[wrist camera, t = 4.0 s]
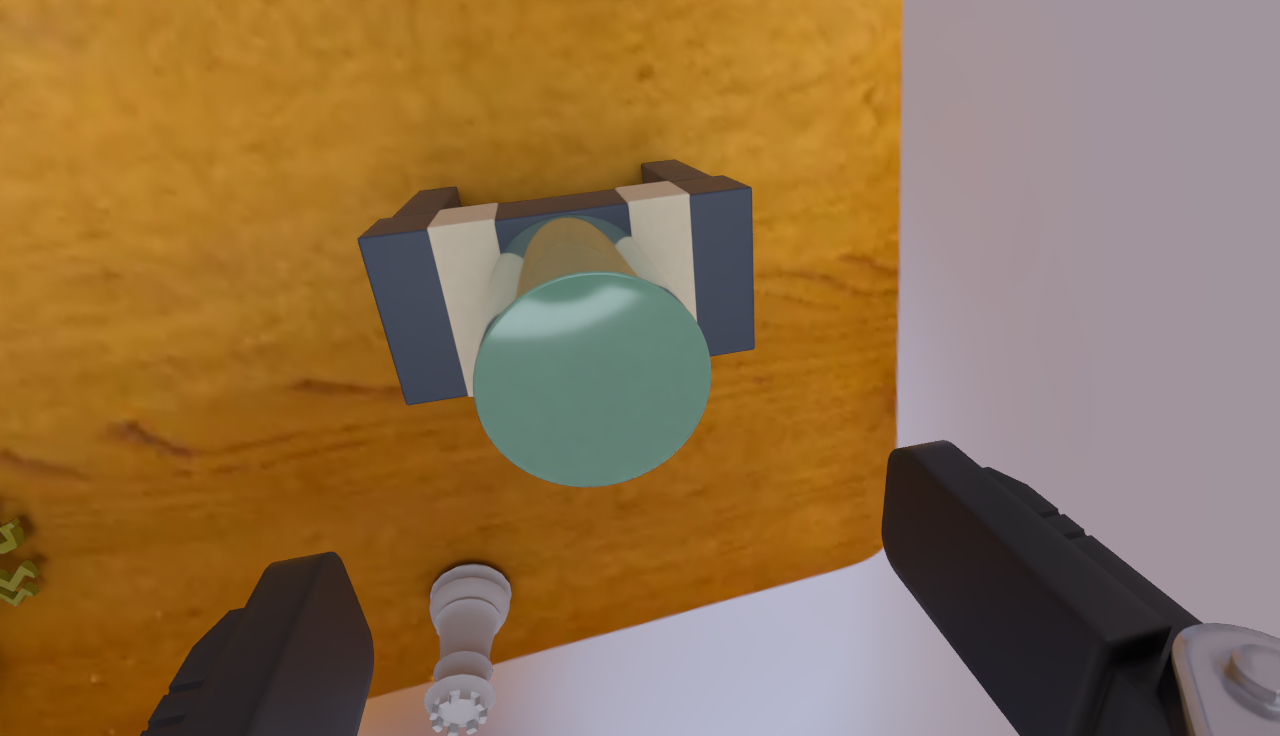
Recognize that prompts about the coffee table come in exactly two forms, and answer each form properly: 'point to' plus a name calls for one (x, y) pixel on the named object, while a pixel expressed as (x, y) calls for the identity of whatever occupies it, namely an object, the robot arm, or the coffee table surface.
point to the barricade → (477, 235)
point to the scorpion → (7, 583)
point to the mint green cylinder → (586, 356)
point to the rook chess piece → (465, 645)
